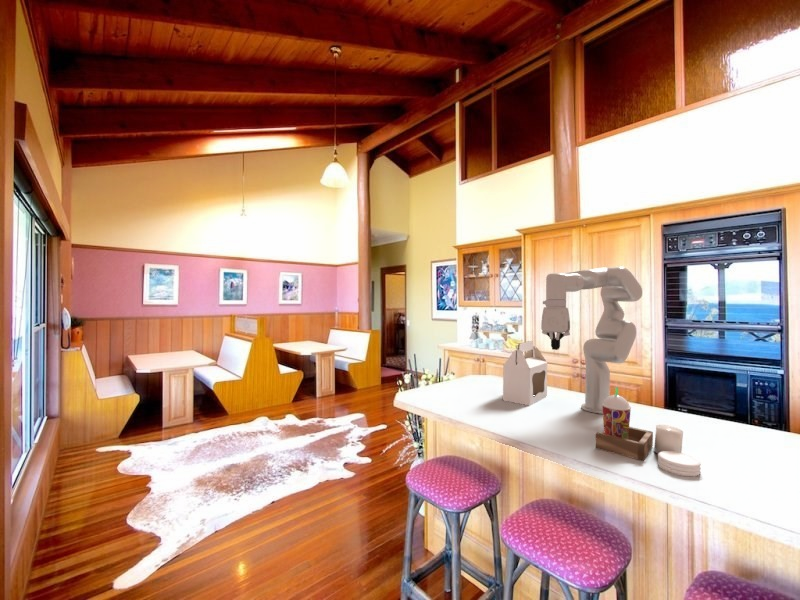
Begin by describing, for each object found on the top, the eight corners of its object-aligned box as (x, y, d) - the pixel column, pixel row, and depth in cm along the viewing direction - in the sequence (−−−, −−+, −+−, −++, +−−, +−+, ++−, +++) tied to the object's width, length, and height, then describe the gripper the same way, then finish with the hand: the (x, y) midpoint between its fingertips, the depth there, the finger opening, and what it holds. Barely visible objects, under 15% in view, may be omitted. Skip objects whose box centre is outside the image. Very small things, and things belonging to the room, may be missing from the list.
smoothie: (628, 453, 118) (629, 391, 118) (599, 446, 123) (600, 387, 123) (631, 445, 125) (632, 386, 124) (603, 439, 130) (604, 382, 130)
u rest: (608, 435, 133) (608, 422, 133) (652, 446, 124) (652, 431, 124) (595, 448, 122) (595, 433, 122) (643, 460, 113) (643, 444, 113)
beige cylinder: (651, 446, 122) (653, 423, 122) (676, 451, 120) (678, 427, 120) (658, 455, 116) (660, 430, 115) (684, 460, 113) (686, 435, 113)
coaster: (708, 479, 102) (709, 466, 102) (669, 475, 104) (669, 463, 104) (687, 463, 112) (687, 451, 112) (651, 460, 114) (651, 449, 114)
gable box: (521, 391, 194) (522, 338, 193) (547, 396, 185) (547, 341, 184) (502, 400, 177) (503, 342, 177) (529, 406, 168) (529, 345, 168)
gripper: (534, 303, 150) (533, 348, 151) (572, 304, 140) (571, 352, 140) (541, 303, 156) (541, 346, 156) (578, 304, 145) (578, 350, 146)
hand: (555, 349), depth 148 cm, fingers closed
